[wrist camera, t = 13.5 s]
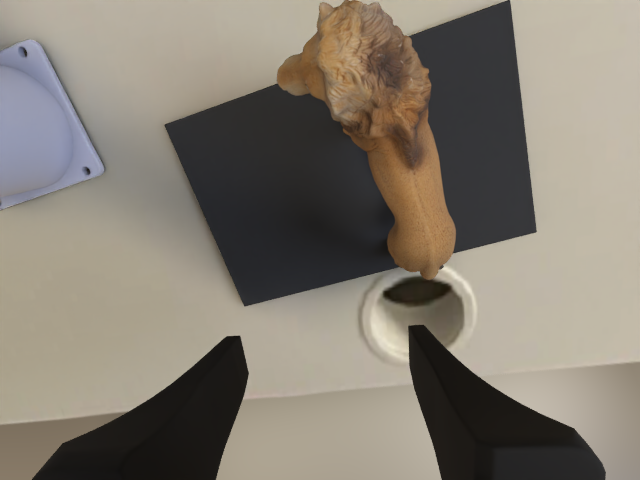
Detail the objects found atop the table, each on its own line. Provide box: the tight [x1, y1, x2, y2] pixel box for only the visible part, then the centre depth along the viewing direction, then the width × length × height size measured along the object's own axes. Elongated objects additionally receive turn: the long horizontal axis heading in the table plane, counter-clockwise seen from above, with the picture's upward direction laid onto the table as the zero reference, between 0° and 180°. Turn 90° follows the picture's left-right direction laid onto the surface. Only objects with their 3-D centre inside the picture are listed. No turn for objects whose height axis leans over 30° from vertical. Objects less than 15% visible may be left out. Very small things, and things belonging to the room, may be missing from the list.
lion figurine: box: [277, 0, 456, 279], centre depth 16 cm, size 15×5×9 cm, turn 31°
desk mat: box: [165, 0, 536, 306], centre depth 21 cm, size 20×13×1 cm, turn 108°
